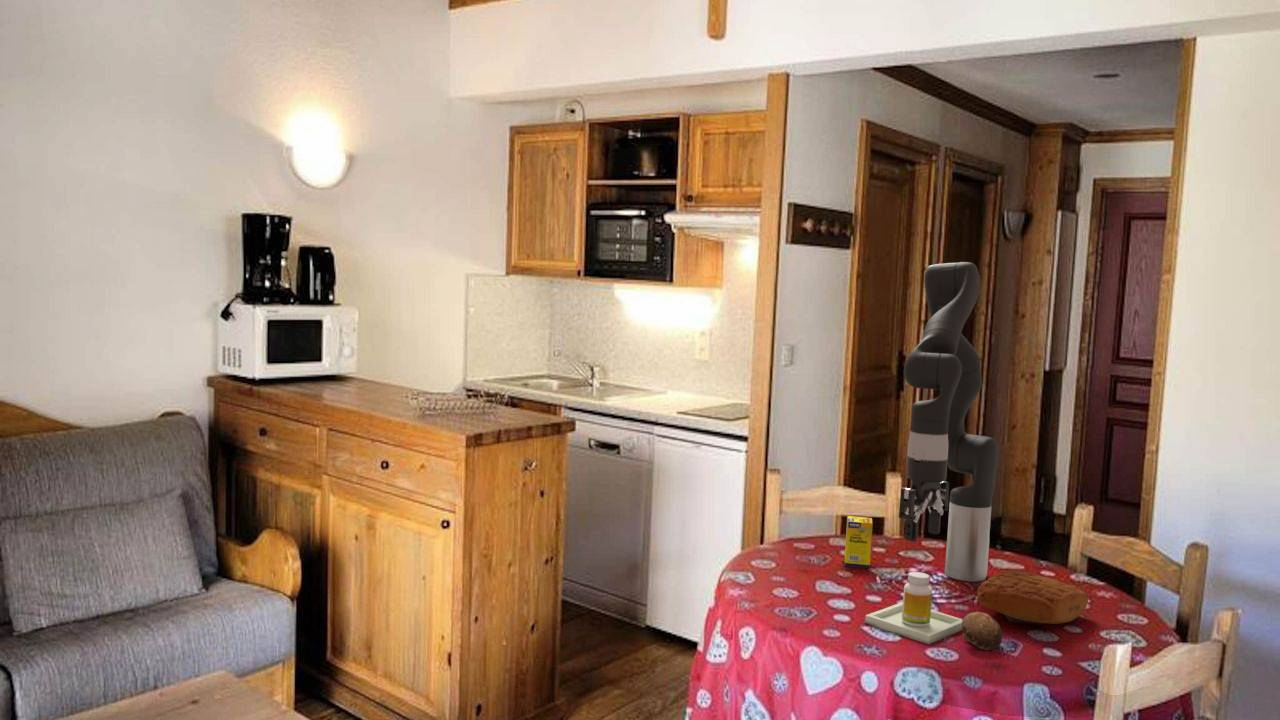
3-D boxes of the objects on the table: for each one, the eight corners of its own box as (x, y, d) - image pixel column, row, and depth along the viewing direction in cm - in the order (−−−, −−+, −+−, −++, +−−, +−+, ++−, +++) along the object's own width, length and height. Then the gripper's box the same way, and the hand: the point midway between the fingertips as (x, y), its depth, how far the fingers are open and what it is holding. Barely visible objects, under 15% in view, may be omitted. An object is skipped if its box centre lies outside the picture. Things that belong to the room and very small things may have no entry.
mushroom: (949, 618, 189) (968, 598, 186) (985, 634, 190) (1004, 614, 187) (954, 650, 183) (974, 631, 179) (991, 667, 184) (1012, 647, 180)
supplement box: (870, 568, 232) (873, 523, 231) (844, 566, 233) (847, 521, 232) (869, 562, 238) (872, 517, 237) (844, 559, 239) (846, 515, 238)
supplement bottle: (933, 628, 191) (936, 579, 190) (905, 626, 191) (908, 578, 191) (925, 618, 197) (929, 571, 196) (898, 617, 197) (902, 570, 196)
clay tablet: (1051, 643, 188) (1054, 602, 187) (966, 618, 200) (969, 580, 199) (1093, 618, 203) (1097, 580, 203) (1013, 597, 215) (1015, 561, 215)
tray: (903, 609, 204) (904, 601, 204) (966, 628, 194) (966, 620, 193) (865, 623, 194) (865, 615, 194) (928, 644, 184) (929, 636, 184)
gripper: (929, 448, 198) (924, 527, 200) (890, 455, 189) (885, 538, 190) (963, 454, 193) (958, 535, 195) (925, 462, 183) (920, 547, 185)
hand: (922, 536), depth 192 cm, fingers open, 8 cm apart
